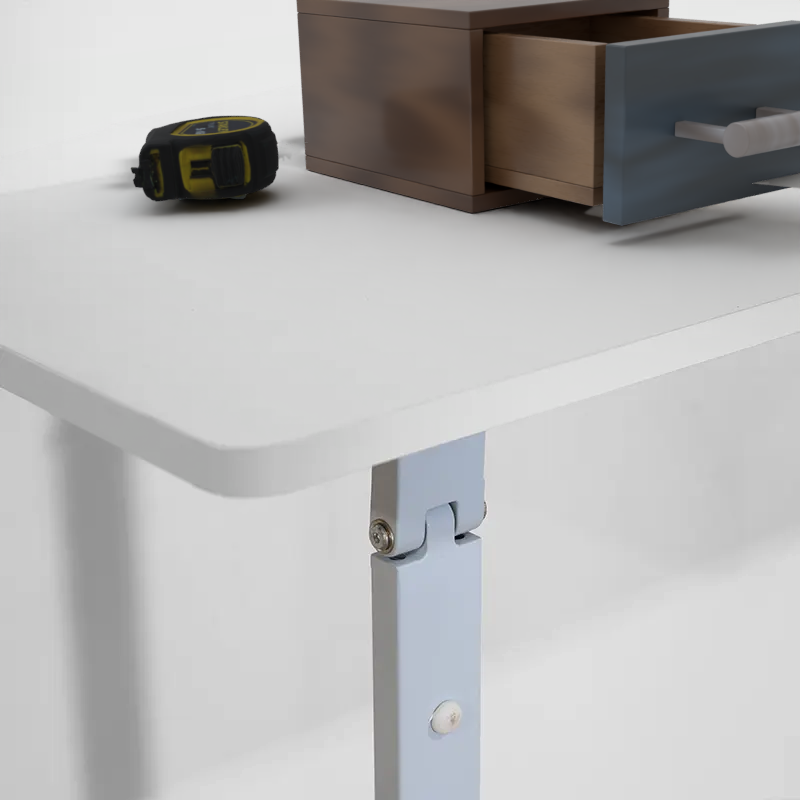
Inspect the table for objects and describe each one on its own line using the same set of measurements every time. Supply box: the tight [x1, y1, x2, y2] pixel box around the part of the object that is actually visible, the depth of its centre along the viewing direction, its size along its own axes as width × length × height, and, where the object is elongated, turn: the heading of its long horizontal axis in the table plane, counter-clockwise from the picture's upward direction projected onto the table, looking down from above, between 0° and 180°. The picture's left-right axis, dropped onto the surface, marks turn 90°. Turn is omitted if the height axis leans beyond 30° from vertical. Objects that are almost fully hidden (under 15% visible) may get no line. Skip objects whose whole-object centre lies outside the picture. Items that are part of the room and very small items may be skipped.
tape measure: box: [130, 115, 280, 202], centre depth 69 cm, size 7×7×4 cm
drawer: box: [482, 14, 800, 227], centre depth 63 cm, size 18×11×7 cm, turn 36°
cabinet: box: [295, 0, 670, 214], centre depth 72 cm, size 15×13×9 cm
